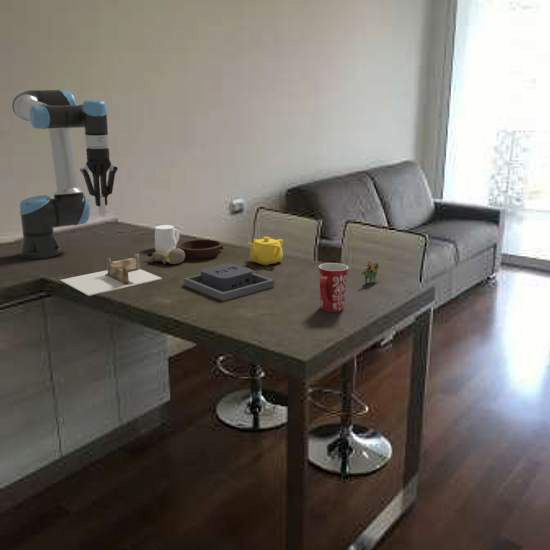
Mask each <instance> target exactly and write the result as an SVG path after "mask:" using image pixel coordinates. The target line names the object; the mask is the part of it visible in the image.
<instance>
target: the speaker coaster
mask: <svg viewBox="0 0 550 550" xmlns="http://www.w3.org/2000/svg"><path fill="white" fill-rule="evenodd" d="M252 280H253V282H255V283H253V284H252V285H249V286H246V287H242V288H238V289H234V290H230V291H227V292H221V291H218V290H216V289H213V288H211V287H208V286H206V285H203V284H201V273H200V274H197V275H192V276H189V277H184V278H183V286H185V287H188V288H190V289H192V290H194V291H197V292H199V293H202V294H204V295H207V296H209V297H212V298H214V299H216V300H219V301H221V302H225V301H228V300H233V299H236V298H239V297H243V296H246V295H250V294H254V293H257V292H262V291H264V290H269V289H272V288H274V287H275V279H272V278H269V277H265V276H262V275H259V274H257V273H254V272H252Z"/></svg>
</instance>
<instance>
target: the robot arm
mask: <svg viewBox="0 0 550 550" xmlns="http://www.w3.org/2000/svg"><path fill="white" fill-rule="evenodd" d="M82 102H83V103H82V104H78V105H77V102H76V98H75V97H74V95H73V94H72V93H71V91H69V90H62V89H61V90H60V89H52V90H51V89H49V90H47V89H46V90H45V89H44V90H41V89H40V90H39V89H38V90H36V89H35V90H34V89H32V90H26V91H23V92H21V93H18V94H17V95H16V96H15V97H14V99H13V101H12V104H11V105H12V106H11V108H12V110H13V113H14V114H15V115H16V117H18V118H19V119H21V120H24V121H26V122H27V121H28V122H29V121H30V124H31V127H33V128H34V129H39V130H40V129H41V130H46V129H48V131H49V132H48V133H49V140H50V146H51V147H50V148H51V155H52V162H53V169H54V177H55V183H56V190H55V192H54V193H53V198H51V197H50V195H45V194H44V195H35V196H32V197H31V196H30V197H27V198H25V199H23V200H22V201H20V203H19V215H20V219H21V228H22V235H23V236H22V242H21V247H20V250H19V251H20V256H21V258H23V259H30V260H32V259H33V260H34V259H35V260H38V259H47V258H48V259H49V258H52V257H55V256H58V255H60V254H61V247H60V246H59V242H58V240H57V239H56V236H55V233H54V232H55V231H54V228H60V227H61V228H62V227H69V226H78V225H84V224H86V223H87V222H88V221H89V219H90V214H91V203H90V199H89V197H88V195H84V191H83V190H82V189H81V188H80V187H79V179H78V172H77V171H78V170H77V163H76V155H75V149H74V148H75V147H74V139H73V133H72V129H73V128H74V129H75V128H77V129H78V128H79V129H80V128H84V136H85V146H86V147H87V148H86V149H85V150H86V163H85V166H84V167H82V168H80V169H79V170H80V173H81V174H82V175H83V179H84V181H85V184H86V187H87V192H88V193H89V195H90V196H92V197H94V200H95V201H94V203H95V206H97V207H98V208H97V209H98V215H100V216H101V217H102V216H106V215H107V212H106V206H108V197H109V195H112V194H113V190H114V189H113V188H114V183H115V176H116V173H117V171H118V166H116V165H113V164H112V162H111V160H110V148H109V144H110V143H109V134H108V133H109V132H108V117H107V116H108V115H107V114H108V111H107V105H106V102H105V101H104V100H97V99H96V100H95V99H94V100H93V99H90V100H84V101H82ZM89 171H90V172H91V173H92V175H91V176H92V179H93V180H92V179H91V176H90V174H89V173H90V172H89ZM108 171H109V172H108ZM107 172H108V178H107ZM92 181H93V182H92Z"/></svg>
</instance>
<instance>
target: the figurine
mask: <svg viewBox="0 0 550 550" xmlns="http://www.w3.org/2000/svg"><path fill="white" fill-rule="evenodd" d="M369 263H370V264H369ZM366 267H367V268H364V271H361V273H360V276H361V275H362V276H364V280H365V284H369V285H372V284H371V282H372V281H373V282H374V281H376V277H377V275H379V272H378V269H380V266H379V263H378V262H374V263H373V264H372V262H371V261H367V265H366ZM368 278H369V282H368ZM371 280H372V281H371ZM367 282H368V283H367Z"/></svg>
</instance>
